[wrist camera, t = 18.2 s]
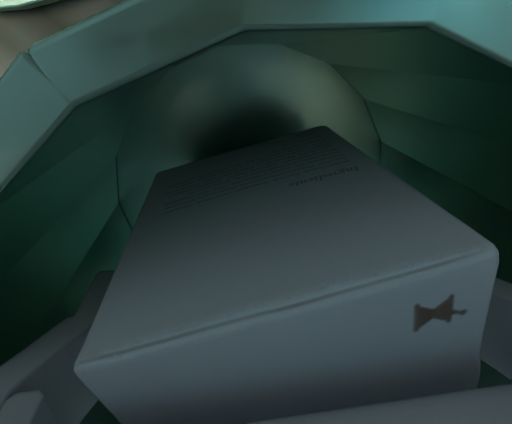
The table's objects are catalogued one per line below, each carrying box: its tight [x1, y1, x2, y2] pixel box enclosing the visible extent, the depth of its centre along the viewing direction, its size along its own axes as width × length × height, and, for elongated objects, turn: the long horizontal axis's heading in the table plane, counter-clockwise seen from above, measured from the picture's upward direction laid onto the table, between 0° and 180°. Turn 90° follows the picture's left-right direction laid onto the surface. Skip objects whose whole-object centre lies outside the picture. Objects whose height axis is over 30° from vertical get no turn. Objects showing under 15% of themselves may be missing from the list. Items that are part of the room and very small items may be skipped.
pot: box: [0, 0, 512, 424], centre depth 10 cm, size 13×14×10 cm
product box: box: [74, 126, 499, 424], centre depth 8 cm, size 6×6×7 cm
